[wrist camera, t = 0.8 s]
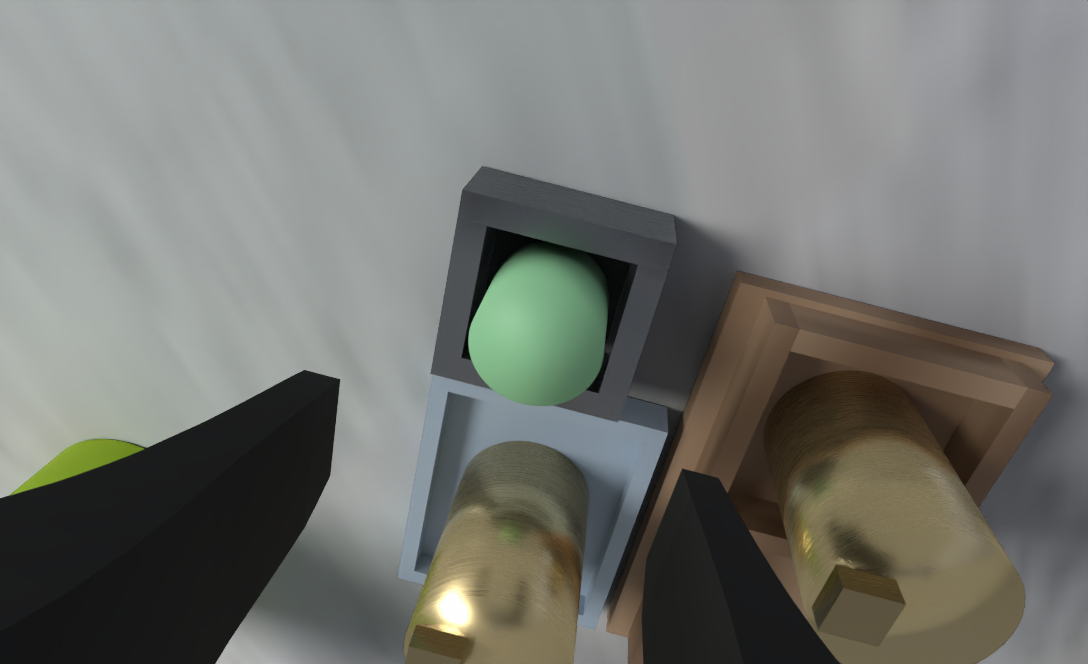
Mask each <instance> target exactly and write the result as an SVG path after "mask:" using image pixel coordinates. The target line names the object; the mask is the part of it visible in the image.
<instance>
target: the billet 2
mask: <svg viewBox="0 0 1088 664" xmlns="http://www.w3.org/2000/svg"><path fill="white" fill-rule="evenodd" d="M764 447H765V452H766V456H767V460H768V464H769V468H770V472H771V476H772V480H773V484H774V488H775V492H776V496H777V500H778V504H779V508H780V513H781V517H782V521H783V525H784V529H785V533H786V537H787V541H788V545H789V549H790V553H791V557H792V561H793V565H794V569H795V573H796V577H797V582H798V586H799V590H800V594H801V598H802V602H803V606H804V610H805V614H806V618H807V621H808V622H809V624H810V625H811V626H812V628H813V629H814V631H815V632H816V633H817V635H818V636H819V637H820V639H821V640H822V641H823V643H824V644H825V645H826V647H827V648H828V649H829V650H830V652H831V653H832V654H833V655H834V657H835V658H836V659H837V660H838V661H839V662H840V663H842V664H976V663H978V662H980V661H982V660H983V659H985V658H987V657H988V656H990V655H991V654H993V653H994V652H995V651H997V650H998V649H999V648H1000V647H1001V646H1002V645H1004V644H1005V642H1006V641H1007V640H1008V639H1009V638H1010V637H1011V636H1012V634H1013V633H1014V631H1015V630H1016V628H1017V627H1018V625H1019V623H1020V621H1021V618H1022V616H1023V612H1024V608H1025V592H1024V586H1023V583H1022V581H1021V578H1020V576H1019V574H1018V573H1017V571H1016V569H1015V568H1014V566H1013V564H1012V563H1011V561H1010V559H1009V558H1008V556H1007V554H1006V553H1005V551H1004V550H1003V548H1002V546H1001V545H1000V543H999V541H998V540H997V538H996V537H995V535H994V533H993V532H992V530H991V528H990V527H989V525H988V524H987V522H986V520H985V519H984V517H983V515H982V514H981V512H980V511H979V509H978V507H977V506H976V504H975V502H974V501H973V499H972V498H971V496H970V494H969V493H968V491H967V489H966V488H965V486H964V485H963V483H962V481H961V480H960V478H959V476H958V475H957V473H956V472H955V470H954V468H953V467H952V465H951V463H950V462H949V460H948V459H947V457H946V455H945V454H944V452H943V450H942V449H941V447H940V446H939V444H938V442H937V441H936V439H935V437H934V436H933V434H932V433H931V431H930V429H929V428H928V426H927V424H926V423H925V421H924V420H923V418H922V416H921V415H920V413H919V411H918V410H917V408H916V407H915V405H914V403H913V402H912V400H911V398H910V397H909V396H908V395H907V394H906V392H905V391H904V390H902V389H901V388H900V387H899V386H898V385H896V384H895V383H893V382H892V381H890V380H888V379H886V378H884V377H881V376H879V375H875V374H872V373H868V372H863V371H852V370H849V371H835V372H828V373H824V374H820V375H817V376H815V377H812V378H809V379H807V380H805V381H803V382H801V383H799V384H798V385H796V386H795V387H793V388H791V389H790V390H789V391H788V392H787V393H785V394H784V395H783V396H782V397H781V398H780V399H779V400H778V401H777V403H776V404H775V406H774V407H773V408H772V410H771V412H770V414H769V416H768V418H767V421H766V424H765V428H764Z"/></svg>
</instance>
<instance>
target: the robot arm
mask: <svg viewBox="0 0 1088 664" xmlns="http://www.w3.org/2000/svg"><path fill="white" fill-rule="evenodd" d="M339 386H340V379H337V378H333V377H329V376H325V375H321V374H318V373H314V372H310V371H306V370H304V371H302V372H300V373H298V374H295V375H294V376H292V377H290V378H288V379H286V380H284V381H282V382H280V383H278V384H276V385H275V386H273V387H271V388H269V389H267V390H265V391H263V392H262V393H260V394H258V395H256V396H254V397H252V398H250V399H248V400H246V401H245V402H243V403H241V404H239V405H237V406H235V407H233V408H231V409H229V410H227V411H225V412H223V413H221V414H219V415H217V416H215V417H213V418H211V419H209V420H207V421H205V422H203V423H201V424H199V425H197V426H195V427H192V428H190V429H188V430H186V431H183V432H181V433H179V434H177V435H175V436H172V437H170V438H168V439H166V440H164V441H161V442H159V443H157V444H155V445H153V446H150V447H148V448H146V449H144V450H141V451H139V452H136V453H134V454H132V455H129V456H127V457H124V458H121V459H119V460H116V461H114V462H111V463H109V464H106V465H103V466H100V467H97V468H95V469H92V470H89V471H86V472H83V473H81V474H78V475H75V476H72V477H69V478H66V479H63V480H60V481H57V482H54V483H51V484H47V485H44V486H40V487H37V488H34V489H30V490H27V491H23V492H20V493H17V494H13V495H10V496H6V497H3V498H0V664H215V663H216V661H217V660H218V658H219V657H220V655H221V653H222V652H223V650H224V648H225V647H226V645H227V644H228V642H229V640H230V639H231V637H232V636H233V634H234V633H235V631H236V630H237V628H238V627H239V625H240V624H241V622H242V621H243V619H244V618H245V616H246V615H247V613H248V612H249V610H250V609H251V607H252V606H253V604H254V603H255V602H256V600H257V599H258V597H259V596H260V594H261V593H262V591H263V590H264V588H265V587H266V585H267V584H268V582H269V581H270V579H271V578H272V576H273V575H274V573H275V572H276V570H277V569H278V567H279V566H280V564H281V563H282V561H283V560H284V558H285V557H286V555H287V554H288V552H289V551H290V549H291V548H292V546H293V544H294V543H295V541H296V540H297V538H298V537H299V535H300V534H301V532H302V531H303V529H304V528H305V526H306V524H307V522H308V520H309V518H310V516H311V514H312V512H313V510H314V508H315V506H316V504H317V502H318V500H319V498H320V496H321V494H322V492H323V490H324V487H325V485H326V483H327V481H328V479H329V477H330V472H331V462H332V453H333V443H334V434H335V424H336V414H337V405H338V395H339ZM642 643H643V664H840V663H839V662H838V660H837V659H836V658H835V657H834V655H833V654H832V653H831V652H830V650H829V649H828V648H827V647H826V645H825V644H824V643H823V641H822V640H821V639H820V637H819V636H818V635H817V633H816V632H815V631H814V629H813V628H812V626H811V625H810V624H809V622H808V621H807V619H806V618H805V617H804V615H803V614H802V612H801V611H800V609H799V608H798V607H797V605H796V604H795V602H794V601H793V600H792V598H791V597H790V595H789V594H788V592H787V591H786V589H785V588H784V586H783V585H782V583H781V582H780V580H779V579H778V577H777V575H776V574H775V572H774V571H773V569H772V568H771V566H770V564H769V563H768V561H767V560H766V558H765V556H764V555H763V553H762V552H761V550H760V548H759V547H758V545H757V543H756V542H755V540H754V538H753V537H752V535H751V533H750V531H749V530H748V528H747V526H746V525H745V523H744V521H743V519H742V518H741V516H740V514H739V512H738V511H737V509H736V507H735V505H734V504H733V502H732V500H731V498H730V497H729V495H728V493H727V491H726V490H725V488H724V486H723V485H722V483H721V481H720V479H719V478H717V477H713V476H709V475H706V474H702V473H698V472H694V471H690V470H686V469H683V468H682V470H681V472H680V475H679V477H678V480H677V482H676V485H675V487H674V490H673V493H672V495H671V498H670V500H669V503H668V505H667V508H666V510H665V513H664V515H663V518H662V520H661V523H660V525H659V528H658V530H657V533H656V536H655V538H654V541H653V543H652V546H651V548H650V551H649V553H648V556H647V558H646V568H645V579H644V590H643V604H642Z"/></svg>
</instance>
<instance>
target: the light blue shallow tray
mask: <svg viewBox="0 0 1088 664" xmlns="http://www.w3.org/2000/svg"><path fill="white" fill-rule="evenodd" d="M667 435H668V419H667V407H664V406H661V405H657V404H653V403H649V402H645V401H641V400H637V399H634V398H630V397H627V398H626V401H625V404H624V407H623V410H622V413H621V416H620V419H619V422H614V421H610V420H606V419H602V418H599V417H595V416H591V415H587V414H583V413H579V412H576V411H572V410H568V409H564V408H560V407H556V406H552V405H551V406H530V405H525V404H520V403H517V402H514V401H512V400H509V399H507V398H505V397H503V396H502V395H500V394H498V393H497V392H496V391H494V390H491V389H487V388H483V387H479V386H475V385H472V384H468V383H464V382H460V381H456V380H452V379H448V378H445V377H441V376H437V375H433V376H432V381H431V387H430V393H429V398H428V404H427V410H426V416H425V421H424V427H423V433H422V439H421V444H420V450H419V456H418V461H417V467H416V473H415V479H414V484H413V490H412V496H411V501H410V507H409V513H408V519H407V524H406V530H405V536H404V541H403V547H402V553H401V559H400V564H399V570H398V576H397V578H399V579H403V580H406V581H410V582H414V583H418V584H422V585H424V582H425V579H426V576H427V574H428V571H429V568H430V565H431V562H432V560H433V557H434V554H435V551H436V548H437V545H438V543H439V540H440V537H441V534H442V531H443V529H444V526H445V523H446V520H447V517H448V515H449V512H450V509H451V506H452V503H453V501H454V498H455V495H456V492H457V489H458V486H459V484H460V481H461V478H462V475H463V472H464V470H465V468H466V466H467V465H468V463H469V462H470V461H471V460H472V459H473V458H474V457H475V455H477V454H478V453H479V452H481V451H482V450H484V449H486V448H488V447H490V446H493V445H495V444H499V443H503V442H509V441H527V442H534V443H539V444H542V445H545V446H548V447H550V448H552V449H555V450H556V451H558V452H560V453H562V454H563V455H565V456H566V457H567V458H569V459H570V460H571V461H572V462H573V463H574V464H575V465H576V466H577V467H578V469H579V470H580V471H581V473H582V474H583V476H584V478H585V480H586V482H587V485H588V489H589V495H590V502H589V512H588V522H587V532H586V542H585V552H584V562H583V572H582V582H581V592H580V602H579V612H578V622H577V626H581V627H585V628H589V629H593V630H595V628H596V625H597V622H598V620H599V617H600V614H601V612H602V609H603V606H604V604H605V601H606V598H607V596H608V593H609V590H610V588H611V585H612V582H613V579H614V577H615V574H616V571H617V569H618V566H619V563H620V561H621V558H622V555H623V553H624V550H625V547H626V545H627V542H628V539H629V537H630V534H631V531H632V529H633V526H634V523H635V520H636V518H637V515H638V512H639V510H640V507H641V504H642V502H643V499H644V496H645V494H646V491H647V488H648V486H649V483H650V480H651V478H652V475H653V472H654V470H655V467H656V464H657V461H658V459H659V456H660V453H661V451H662V448H663V445H664V443H665V440H666V437H667Z"/></svg>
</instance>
